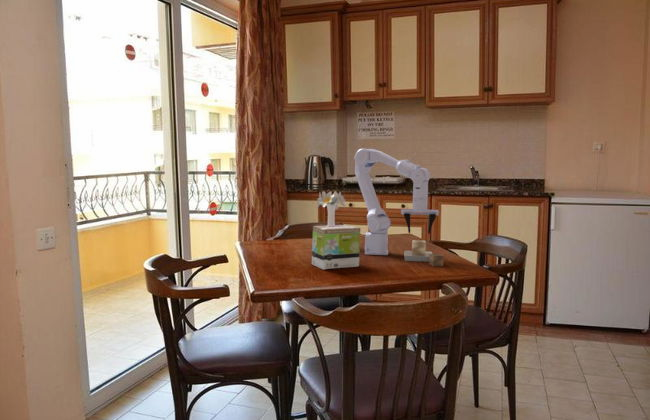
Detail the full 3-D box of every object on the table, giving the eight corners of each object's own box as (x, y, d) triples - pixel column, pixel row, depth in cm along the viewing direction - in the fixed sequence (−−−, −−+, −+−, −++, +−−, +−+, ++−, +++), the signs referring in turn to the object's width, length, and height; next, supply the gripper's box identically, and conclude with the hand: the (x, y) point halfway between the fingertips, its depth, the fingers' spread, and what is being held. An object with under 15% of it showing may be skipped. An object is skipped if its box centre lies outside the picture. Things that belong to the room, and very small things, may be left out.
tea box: (323, 270, 178) (324, 229, 177) (311, 265, 187) (311, 225, 185) (360, 266, 185) (361, 226, 184) (346, 261, 194) (347, 223, 192)
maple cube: (412, 254, 198) (412, 242, 198) (411, 252, 203) (412, 240, 203) (425, 255, 197) (425, 242, 197) (424, 252, 202) (424, 240, 202)
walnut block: (432, 266, 187) (433, 255, 187) (429, 264, 191) (429, 253, 190) (443, 266, 187) (443, 255, 187) (439, 264, 191) (439, 253, 191)
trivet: (404, 260, 196) (404, 255, 196) (404, 255, 207) (404, 250, 207) (433, 261, 195) (433, 256, 194) (431, 256, 206) (431, 251, 205)
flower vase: (342, 242, 236) (343, 189, 233) (346, 250, 218) (347, 192, 215) (314, 242, 235) (315, 189, 233) (316, 250, 217) (316, 192, 214)
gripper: (401, 199, 195) (400, 233, 197) (440, 199, 193) (438, 234, 195) (401, 197, 202) (400, 231, 204) (438, 198, 200) (437, 232, 202)
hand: (419, 232), depth 200 cm, fingers open, 7 cm apart
